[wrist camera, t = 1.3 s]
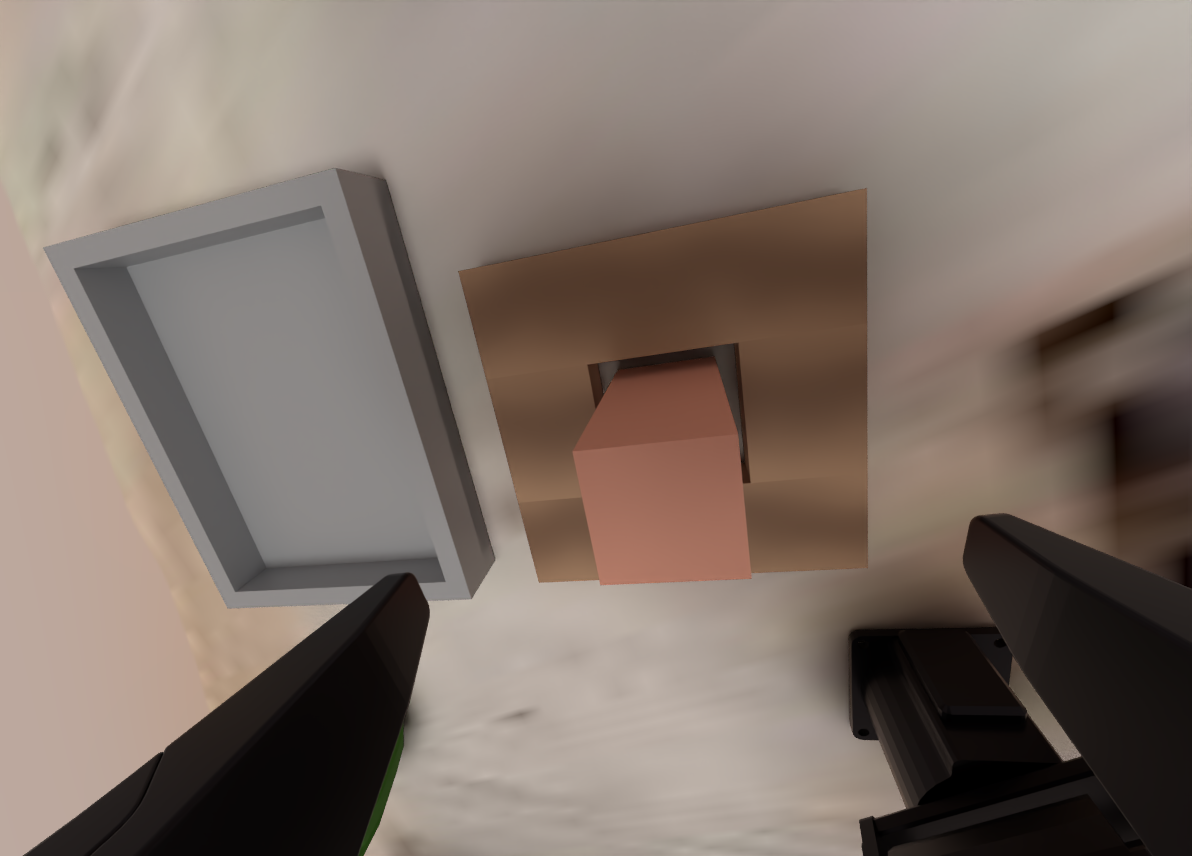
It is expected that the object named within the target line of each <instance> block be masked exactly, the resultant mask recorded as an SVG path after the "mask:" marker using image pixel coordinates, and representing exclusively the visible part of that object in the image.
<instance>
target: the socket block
mask: <svg viewBox="0 0 1192 856" xmlns="http://www.w3.org/2000/svg"><path fill="white" fill-rule="evenodd" d="M458 272H459V276H460V280H461V283H462V287H463V291H464V295H465V299H466V303H467V307H468V310H469V314H470V318H471V322H472V326H473V330H474V334H475V338H476V341H477V345H478V349H479V353H480V357H481V361H482V365H483V368H484V372H485V376H486V380H487V384H488V388H489V392H490V395H491V399H492V403H493V407H494V411H495V415H496V419H497V422H498V426H499V430H500V434H501V438H502V442H503V446H504V449H505V453H506V457H507V461H508V465H509V469H510V473H511V476H512V480H513V484H514V488H515V492H516V496H517V500H518V504H519V507H520V511H521V515H522V519H523V523H524V527H525V531H526V534H527V538H528V542H529V546H530V550H531V554H532V558H533V561H534V565H535V569H536V573H537V577H538V581H539V583H540V582H563V581H585V580H599V576H598V571H597V566H596V561H595V557H594V552H593V547H592V542H591V538H590V533H589V528H588V523H587V519H586V514H585V509H584V505H583V500H582V495H581V490H580V486H579V481H578V476H577V471H576V467H575V462H574V457H573V452H572V451H573V450H574V448H575V446H576V444H577V442H578V441H579V439H580V437H581V435H582V433H583V432H584V430H585V428H586V426H587V424H588V423H589V421H590V419H591V417H592V415H593V414H594V412H595V410H596V408H597V406H598V405H599V403H600V401H601V399H602V397H603V396H604V395H603V390H602V384H601V379H600V374H599V368H598V363H602V362H609V361H615V360H622V359H629V358H636V357H643V356H649V355H656V354H663V353H670V352H676V351H683V350H690V349H697V348H704V347H710V346H717V345H724V344H731V343H734V349H735V361H736V372H737V383H738V394H739V405H740V416H741V427H742V438H743V449H744V460H745V462H744V463H741V470H742V481H743V492H744V503H745V513H746V524H747V535H748V546H749V556H750V567H751V573H763V572H785V571H807V570H830V569H852V568H868V507H867V188H865V189H860V190H855V191H850V192H845V193H840V194H835V195H830V196H825V197H821V198H816V199H811V200H806V201H801V202H796V203H791V204H786V205H781V206H776V207H772V208H767V209H762V210H757V211H752V212H747V213H742V214H737V215H732V216H727V217H722V218H718V219H713V220H708V221H703V222H698V223H693V224H688V225H683V226H678V227H673V228H668V229H664V230H659V231H654V232H649V233H644V234H639V235H634V236H629V237H624V238H619V239H615V240H610V241H605V242H600V243H595V244H590V245H585V246H580V247H575V248H570V249H565V250H561V251H556V252H551V253H546V254H541V255H536V256H531V257H526V258H521V259H516V260H511V261H507V262H502V263H497V264H492V265H487V266H482V267H477V268H472V269H467V270H462V271H458Z"/></svg>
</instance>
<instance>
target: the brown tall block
mask: <svg viewBox="0 0 1192 856" xmlns="http://www.w3.org/2000/svg"><path fill="white" fill-rule="evenodd" d="M572 452H573V457H574V462H575V467H576V471H577V476H578V481H579V486H580V490H581V495H582V500H583V505H584V509H585V514H586V519H587V523H588V528H589V533H590V538H591V542H592V547H593V552H594V557H595V561H596V566H597V571H598V576H599V580H600V585H613V584H637V583H660V582H683V581H707V580H730V579H752V578H751V567H750V556H749V546H748V535H747V524H746V513H745V503H744V492H743V481H742V470H741V460H740V449H739V438H738V432H737V429H736V425H735V422H734V419H733V416H732V412H731V409H730V406H729V402H728V399H727V396H726V393H725V389H724V386H723V383H722V379H721V376H720V373H719V370H718V366H717V363H716V360H715V356H712V357H705V358H698V359H691V360H684V361H677V362H670V363H663V364H656V365H649V366H642V367H635V368H628V369H621V370H618V371H617V372H616V374H615V376H614V378H613V379H612V381H611V383H610V385H609V387H608V388H607V390H606V392H605V394H604V396H603V397H602V399H601V401H600V403H599V405H598V406H597V408H596V410H595V412H594V414H593V415H592V417H591V419H590V421H589V423H588V424H587V426H586V428H585V430H584V432H583V433H582V435H581V437H580V439H579V441H578V442H577V444H576V446H575V448H574V450H573V451H572Z"/></svg>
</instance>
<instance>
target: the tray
mask: <svg viewBox="0 0 1192 856" xmlns="http://www.w3.org/2000/svg"><path fill="white" fill-rule="evenodd" d="M43 249H44V251H45V253H46V255H47V256H48V258H49V260H50V262H51V264H52V266H53V268H54V270H55V272H56V274H57V276H58V278H59V280H60V282H61V284H62V286H63V288H64V290H65V292H66V294H67V296H68V298H69V299H70V301H71V303H72V305H73V307H74V309H75V311H76V313H77V315H78V317H79V319H80V321H81V323H82V325H83V327H84V329H85V331H86V333H87V335H88V337H89V339H90V340H91V342H92V344H93V346H94V348H95V350H96V352H97V354H98V356H99V358H100V360H101V362H102V364H103V366H104V368H105V370H106V372H107V374H108V376H109V378H110V380H111V381H112V383H113V385H114V387H115V389H116V391H117V393H118V395H119V397H120V399H121V401H122V403H123V405H124V407H125V409H126V411H127V413H128V415H129V417H130V419H131V421H132V423H133V424H134V426H135V428H136V430H137V432H138V434H139V436H140V438H141V440H142V442H143V444H144V446H145V448H146V450H147V452H148V454H149V456H150V458H151V460H152V462H153V464H154V465H155V467H156V469H157V471H158V473H159V475H160V477H161V479H162V481H163V483H164V485H165V487H166V489H167V491H168V493H169V495H170V497H171V499H172V501H173V503H174V505H175V506H176V508H177V510H178V512H179V514H180V516H181V518H182V520H183V522H184V524H185V526H186V528H187V530H188V532H189V534H190V536H191V538H192V540H193V542H194V544H195V546H196V548H197V549H198V551H199V553H200V555H201V557H202V559H203V561H204V563H205V565H206V567H207V569H208V571H209V573H210V575H211V577H212V579H213V581H214V583H215V585H216V587H217V589H218V590H219V592H220V594H221V596H222V598H223V600H224V602H225V604H226V606H227V608H254V607H280V606H307V605H333V604H350V603H352V602H353V601H354V600H355V599H357V598H358V597H359V596H361V595H362V594H363V593H364V592H366V591H367V590H368V589H369V588H371V587H372V586H373V585H375V584H376V583H377V582H378V581H380V580H381V579H382V578H384V577H385V576H386V575H388V574H392V573H402V572H410V573H412V574H414V575H415V577H416V579H417V581H418V583H419V585H420V587H421V589H422V591H423V594H424V596H425V598H426V600H427V601H438V600H464V599H472V597H473V596H474V594H475V593H476V591H477V589H478V588H479V586H480V584H481V583H482V581H483V579H484V578H485V576H486V575H487V573H488V571H489V570H490V568H491V566H492V565H493V563H494V561H495V558H494V555H493V551H492V548H491V544H490V541H489V537H488V534H487V530H486V527H485V523H484V520H483V516H482V513H481V509H480V506H479V503H478V499H477V496H476V492H475V489H474V485H473V482H472V478H471V475H470V471H469V468H468V464H467V461H466V457H465V454H464V451H463V447H462V444H461V440H460V437H459V433H458V430H457V426H456V423H455V419H454V416H453V412H452V409H451V405H450V402H449V398H448V395H447V392H446V388H445V385H444V381H443V378H442V374H441V371H440V367H439V364H438V360H437V357H436V353H435V350H434V346H433V343H432V339H431V336H430V333H429V329H428V326H427V322H426V319H425V315H424V312H423V308H422V305H421V301H420V298H419V294H418V291H417V287H416V284H415V280H414V277H413V274H412V270H411V267H410V263H409V260H408V256H407V253H406V249H405V246H404V242H403V239H402V235H401V232H400V228H399V225H398V222H397V218H396V215H395V211H394V208H393V204H392V201H391V197H390V194H389V190H388V187H387V183H386V180H383V179H379V178H375V177H371V176H367V175H362V174H358V173H354V172H350V171H346V170H342V169H338V168H333V169H329V170H325V171H322V172H318V173H314V174H311V175H307V176H303V177H300V178H296V179H292V180H289V181H285V182H282V183H278V184H274V185H271V186H267V187H263V188H260V189H256V190H252V191H249V192H245V193H241V194H238V195H234V196H230V197H227V198H223V199H219V200H216V201H212V202H208V203H205V204H201V205H197V206H194V207H190V208H186V209H183V210H179V211H175V212H172V213H168V214H164V215H161V216H157V217H153V218H150V219H146V220H142V221H139V222H135V223H131V224H128V225H124V226H120V227H117V228H113V229H109V230H106V231H102V232H98V233H95V234H91V235H87V236H84V237H80V238H76V239H73V240H69V241H65V242H62V243H58V244H54V245H51V246H47V247H43Z"/></svg>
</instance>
